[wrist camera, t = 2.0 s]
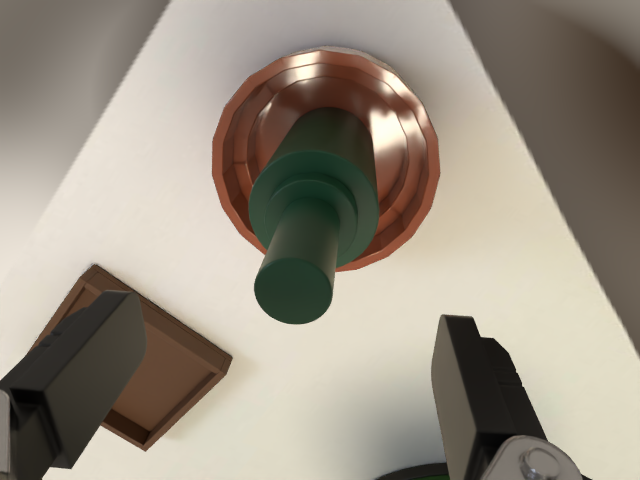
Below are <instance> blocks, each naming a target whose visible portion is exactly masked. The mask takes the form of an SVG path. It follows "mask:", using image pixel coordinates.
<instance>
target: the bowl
mask: <svg viewBox="0 0 640 480" xmlns="http://www.w3.org/2000/svg"><path fill="white" fill-rule="evenodd" d="M323 107H334V108H340V109H343V110H346V111H348V112H350V113H352V114H354V115H355V116H356V117H358V118H359V119H360V120H361V121H362V122H363V123H364V125H365V126H366V127H367V129H368V131H369V133H370V135H371V138H372V141H373V147H374V158H375V169H376V180H377V191H378V201H379V222H378V227H377V230H376V233H375V235H374V237H373V239H372V241H371V243H370V244H369V246H368V247H367V248H366V249H365V250H364V252H363V253H362V254H360V255H359V256H358V257H357V258H356V259H354V260H353V261H351V262H350V263H348V264H346V265H344V266H341V267H338V268H335V272H341V271H349V270H357V269H360V268H362V267H365V266H367V265H369V264H372V263H374V262H377V261H379V260H381V259H384V258H386V257H388V256H389V255H391V254H392V253H393V252H394V251H396V250H397V249H398V248H399V247H400V246H402V245H403V244H404V243H405V242H407V241H408V240H409V239H410V238H411V237H412V236H413V235H414V234H415V232H416V231H417V229H418V228H419V226H420V224H421V223H422V221H423V220H424V218H425V217H426V215H427V214H428V212H429V211H430V209H431V207H432V203H433V200H434V196H435V192H436V188H437V185H438V181H439V177H440V162H439V148H438V139H437V135H436V133H435V131H434V128H433V126H432V124H431V121H430V119H429V117H428V114H427V112H426V110H425V107H424V105H423V103H422V102H421V100H420V99H419V98H418V96H417V95H416V94H415V93H414V91H413V90H412V89H411V88H410V87H409V86H408V85H407V83H406V82H405V81H404V80H403V79H402V78H401V77H400V76H399V75H398V74H397V73H396V71H395V70H394V69H393V68H392V67H390V66H389V65H387V64H385V63H384V62H382V61H380V60H378V59H376V58H374V57H372V56H370V55H368V54H367V53H365V52H363V51H360V50H355V49H348V48H341V47H334V46H322V47H317V48H312V49H307V50H302V51H297V52H293V53H291V54H289V55H286V56H284V57H281V58H279V59H278V60H276V61H274V62H273V63H271V64H269V65H268V66H266V67H264V68H263V69H261V70H259V71H258V72H256V73H254V74H253V75H251V76H249V78H247V79H246V80H245V82H244V83H243V84H242V85H241V87H240V88H239V89H238V90H237V92H236V93H235V94H234V95H233V96H232V98H231V99H230V100H229V101H228V103H227V104H226V105H225V107H224V109H223V112H222V115H221V118H220V120H219V123H218V126H217V129H216V132H215V134H214V137H213V141H212V174H213V175H212V176H213V180H214V183H215V186H216V189H217V193H218V196H219V199H220V203H221V206H222V208H223V210H224V211H225V212H226V214H227V215H228V217H229V218H230V220H231V221H232V223H233V224H234V226H235V227H236V229H237V230H238V232H239V233H240V234H241V235H242V236H243V237H244V238H245V239H246V240H248V241H249V242H250V243H251V244H252V245H254V246H255V247H256V248H257V249H258V250H260V251H261V252H262V253H263V254H264V255H265V254H266V253H267V250H266V249H265V248H264V247H263V246H262V244H261V243H260V242H259V240H258V239H257V237H256V235H255V233H254V231H253V228H252V226H251V222H250V218H249V197H250V193H251V190H252V187H253V185H254V183H255V180H256V179H257V177H258V176H259V174H260V173H261V171H262V170H263V168H264V167H265V166H266V164H267V163H268V161H269V160H270V158H271V157H272V155H273V154H274V152H275V151H276V149H277V148H278V146H279V145H280V144H281V142H282V141H283V139H284V138H285V136H286V135H287V133H288V132H289V130H290V129H291V127H292V126H293V124H294V123H295V122H296V121H297V120H298V119H299V118H300V117H301V116H303V115H304V114H306V113H307V112H309V111H312V110H314V109H318V108H323Z"/></svg>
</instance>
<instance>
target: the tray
mask: <svg viewBox="0 0 640 480" xmlns="http://www.w3.org/2000/svg"><path fill="white" fill-rule="evenodd" d="M105 290H116V291H130V292H135V291H134V290H132V289H131V288H129V287H128V286H126V285H125V284H123V283H122V282H120V281H119V280H117V279H116V278H114V277H113V276H111V275H110V274H109V273H107V272H106V271H104V270H103V269H101V268H100V267H98V266H97V265H95V264H94V265H93V266H92V267H91V268H90V269H88V270H87V271H86V272H85V273H84V274H83V275H82V276H81V277H80V278H79V279H78V280H77V282H76V283H75V285H74V286H73V288H72V289H71V291H70V292H69V294H68V295H67V296H66V298H65V299H64V301H63V302H62V304H61V305H60V307H59V308H58V310H57V311H56V312H55V314H54V315H53V317H52V318H51V320H50V321H49V323H48V324H47V326H46V327H45V328H44V330H43V331H42V333H41V334H40V336H39V337H38V339H37V340H36V342H35V343H34V344H33V346H32V347H31V349H30V350H29V352H30V351H31V350H32V349H33V348H34V347H35V346H38V345H39V342H40V341H41V340H42V339H43V338H45V337H46V336H47V335H50V332H51V331H52V330H53V329H54V328H55V327H56V326H57V325H58V324H59V323H60V322H61V321H62V320H63V319H64V318H66V317H67V316H69V315H71V314H73V313H74V312H76V311H78V310H79V309H81V308H83V307H88V306H89V305H90V304H91V303H92V302H93V301H94V300H95V299H96V298H97V297H98V296H99V295H100V294H101V293H102V292H103V291H105ZM136 293H137V292H136ZM137 294H138V293H137ZM138 296H139V299H140V303H141V308H142V314H143V319H144V324H145V329H146V334H147V349H146V353H145V356H144V359H143V361H142V362H141V364H140V365H139V367H138V369H137V370H136V372H135V373H134V375H133V376H132V378H131V379H130V381H129V382H128V384H127V385H126V387H125V388H124V390H123V391H122V393H121V394H120V396H119V397H118V399H117V400H116V402H115V403H114V405H113V406H112V408H111V409H110V411H109V413H108V414H107V416H106V417H105V419H104V420H103V422H102V423H101V426H103V427H104V428H106V429H108V430H109V431H111V432H113V433H115V434H116V435H118V436H120V437H121V438H123V439H125V440H127V441H128V442H130V443H132V444H133V445H135V446H137V447H139V448H140V449H142V450H144V451H145V452H146V451H147V450H148V449H149V448H150V447H151V446H152V445H153V444H154V443H155V442H156V441H157V440H158V439H159V438H160V437H161V436H163V435H164V434H165V433H166V432H167V431H168V430H169V429H170V428H171V427H172V426H173V425H174V424H175V423H176V422H177V421H178V420H179V419H180V418H181V417H182V416H184V415H185V414H186V413H187V412H188V411H189V410H190V409H191V408H192V407H193V406H194V405H195V404H196V403H197V402H198V401H199V400H200V399H201V398H202V397H203V396H204V395H206V394H207V393H208V392H209V391H210V390H211V389H212V388H213V387H214V386H215V385H216V384H217V383H218V382H219V381H220V380H221V379H222V378H223V377H224V376H225V375H226V374H227V371H228V369H229V366H230V364H231V361H232V357H231V356H229V355H228V354H226V353H225V352H223V351H222V350H220V349H219V348H218V347H216V346H215V345H213V344H212V343H210V342H209V341H207V340H206V339H204V338H203V337H201V336H200V335H198V334H197V333H195V332H194V331H192V330H191V329H190V328H188V327H187V326H185V325H184V324H182V323H181V322H179V321H178V320H176V319H175V318H173V317H172V316H170V315H169V314H167V313H166V312H165V311H163V310H162V309H160V308H159V307H157V306H156V305H154V304H153V303H151V302H150V301H148V300H147V299H145V298H144V297H142V296H141V295H139V294H138ZM29 352H28V353H29ZM28 353H27V354H28Z"/></svg>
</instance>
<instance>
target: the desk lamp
mask: <svg viewBox="0 0 640 480" xmlns="http://www.w3.org/2000/svg"><path fill="white" fill-rule="evenodd" d="M377 480H450V476H449V471H448V466H447V463H443V464H431V465H424V466H419V467H414V468H409V469H404V470H400V471H397V472H394V473H391V474H388V475H386V476H383V477H380V478H379V479H377Z"/></svg>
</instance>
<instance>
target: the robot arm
mask: <svg viewBox="0 0 640 480" xmlns="http://www.w3.org/2000/svg"><path fill="white" fill-rule="evenodd" d="M146 349H147V334H146V329H145V324H144V319H143V314H142V308H141V303H140V299H139V296H138V294H137V293H136V292H130V291H116V290H105V291H103V292H102V293H101V294H100V295H99V296H98V297H97V298H96V299H95V300H94V301H93V302H92V303H91V304H90V305H89V306H88V307H83V308H81V309H79V310H78V311H76V312H74V313H73V314H71V315H69V316H67V317H66V318H64V319H63V320H62V321H61V322H60V323H59V324H58V325H57V326H56V327H55V328H54V329H53V330H52V331H51V332H50V335H47V336H46V337H45V338H43V339H42V340H41V341H40V342H39V345H38V346H35V347H34V348H33V349H32V350H31V351H30V352H29V353H28V354H27V355H26V356H25V357H24V358H23V359H22V360H21V361H20V362H19V363H18V364H17V365H16V366H15V367H14V368H13V369H12V370H11V371H10V372H9V373H8V374H7V375H6V376H5V377H4V378H3V379H2V380H1V381H0V480H42V477H43V476H44V475H45V473H46V472H47V470H48V469H49V468H50V467H56V468H66V469H72V467H73V466H74V464H75V463H76V461H77V460H78V458H79V457H80V455H81V454H82V452H83V450H84V449H85V447H86V446H87V444H88V443H89V441H90V440H91V438H92V437H93V435H94V434H95V432H96V431H97V429H98V428H99V426H100V425H101V423H102V422H103V420H104V419H105V417H106V416H107V414H108V413H109V411H110V409H111V408H112V406H113V405H114V403H115V402H116V400H117V399H118V397H119V396H120V394H121V393H122V391H123V390H124V388H125V387H126V385H127V384H128V382H129V381H130V379H131V378H132V376H133V375H134V373H135V372H136V370H137V369H138V367H139V365H140V364H141V362H142V361H143V359H144V356H145V353H146ZM431 380H432V388H433V393H434V398H435V403H436V408H437V414H438V419H439V424H440V429H441V434H442V440H443V445H444V450H445V455H446V460H447V466H448V471H449V476H450V480H592V479H590V478H588V477H586V476H584V475H582V474H581V473H580V471H579V469H578V468H577V466H576V464H575V463H574V462H573V461H572V459H571V458H570V457H569V456H568V455H567V454H566V453H565V452H563V451H562V450H561V449H559V448H558V447H557V446H555V445H553V444H552V443H550V442H548V440H547V438H546V436H545V433H544V431H543V429H542V427H541V424H540V422H539V420H538V418H537V415H536V413H535V411H534V409H533V406H532V404H531V402H530V400H529V398H528V395H527V393H526V391H525V389H524V387H522V382H521V380H520V377H519V375H518V373H516V368H515V366H514V364H513V362H512V359H511V357H510V355H509V353H508V352H507V351H506V350H505V349H504V348H503V347H502V346H501V345H500V344H499V343H498V342H497V341H496V340H495V339H494V338H484V337H480V334H479V331H478V329H477V326H476V323H475V321H474V319H473V317H472V316H458V315H443V314H442V315H441V317H440V320H439V325H438V330H437V336H436V341H435V347H434V353H433V358H432V366H431Z"/></svg>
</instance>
